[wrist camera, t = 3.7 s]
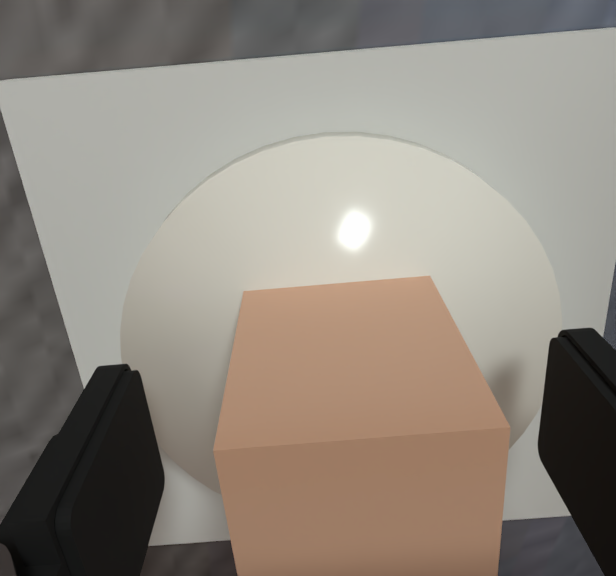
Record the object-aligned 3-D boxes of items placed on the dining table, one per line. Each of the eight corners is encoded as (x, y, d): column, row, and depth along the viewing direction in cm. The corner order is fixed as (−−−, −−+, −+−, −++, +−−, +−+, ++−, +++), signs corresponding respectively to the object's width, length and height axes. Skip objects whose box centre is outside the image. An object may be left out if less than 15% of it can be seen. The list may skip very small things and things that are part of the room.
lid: (566, 111, 12) (801, 188, 6) (526, 479, 16) (646, 715, 11) (85, 153, 12) (-92, 264, 6) (173, 506, 16) (111, 753, 11)
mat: (637, 25, 12) (654, 25, 11) (564, 499, 17) (573, 515, 17) (6, 79, 12) (-8, 82, 11) (136, 530, 17) (131, 547, 17)
